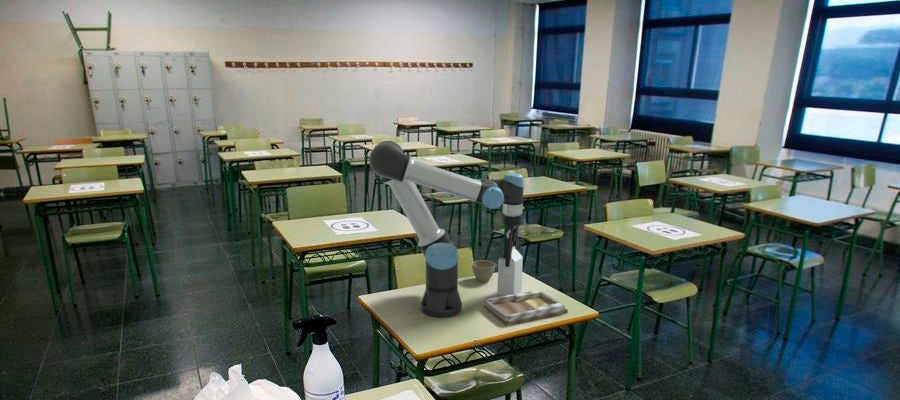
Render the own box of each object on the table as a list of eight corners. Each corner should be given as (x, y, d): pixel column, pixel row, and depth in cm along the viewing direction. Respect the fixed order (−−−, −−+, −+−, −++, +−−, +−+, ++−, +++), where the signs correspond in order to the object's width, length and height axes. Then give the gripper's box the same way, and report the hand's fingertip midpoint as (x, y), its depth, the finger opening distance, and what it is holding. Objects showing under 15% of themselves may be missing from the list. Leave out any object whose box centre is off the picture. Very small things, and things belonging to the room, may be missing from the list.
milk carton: (521, 293, 206) (523, 247, 202) (513, 298, 200) (515, 251, 196) (505, 289, 209) (506, 244, 205) (497, 294, 203) (498, 248, 199)
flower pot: (493, 285, 214) (493, 268, 212) (469, 283, 215) (469, 266, 214) (496, 276, 223) (496, 261, 222) (473, 275, 225) (473, 259, 224)
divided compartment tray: (505, 325, 177) (506, 316, 176) (483, 307, 191) (483, 299, 191) (567, 312, 188) (568, 304, 187) (541, 296, 202) (542, 289, 201)
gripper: (516, 221, 187) (513, 280, 192) (527, 209, 206) (525, 263, 211) (495, 219, 189) (494, 278, 194) (509, 207, 209) (507, 261, 213)
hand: (510, 270), depth 202 cm, fingers open, 8 cm apart
